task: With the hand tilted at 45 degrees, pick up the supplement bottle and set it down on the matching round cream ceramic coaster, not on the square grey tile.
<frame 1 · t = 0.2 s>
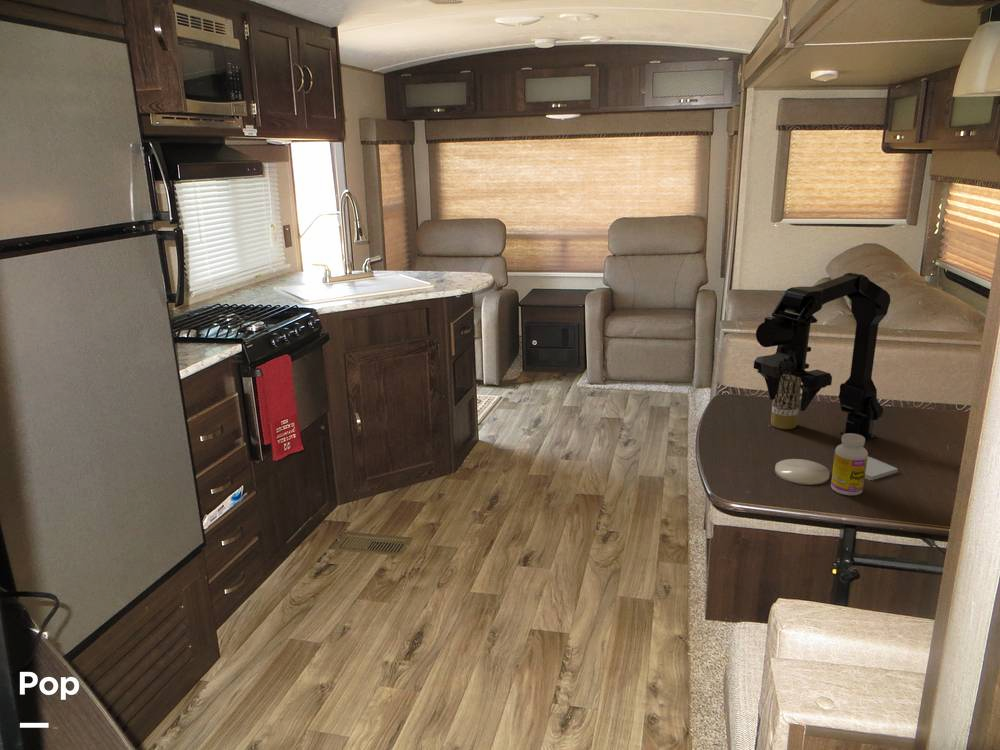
hand: (787, 405, 182), 14 cm above the table, tool pointing down, fingers open, 9 cm apart
round coaster: (801, 473, 179), on the table
square tile: (867, 469, 180), on the table
paper tube: (783, 426, 207), on the table
supplement bottle: (846, 490, 170), on the table
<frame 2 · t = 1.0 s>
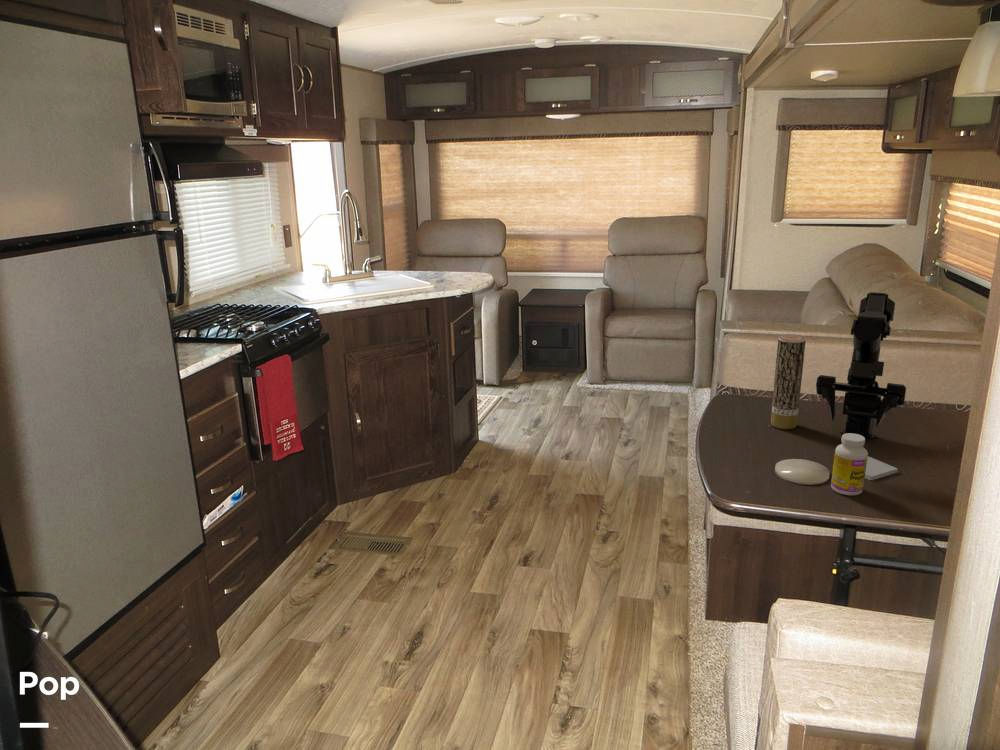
hand: (854, 422, 173), 13 cm above the table, tool tilted 45°, fingers open, 9 cm apart
nothing on the table moved.
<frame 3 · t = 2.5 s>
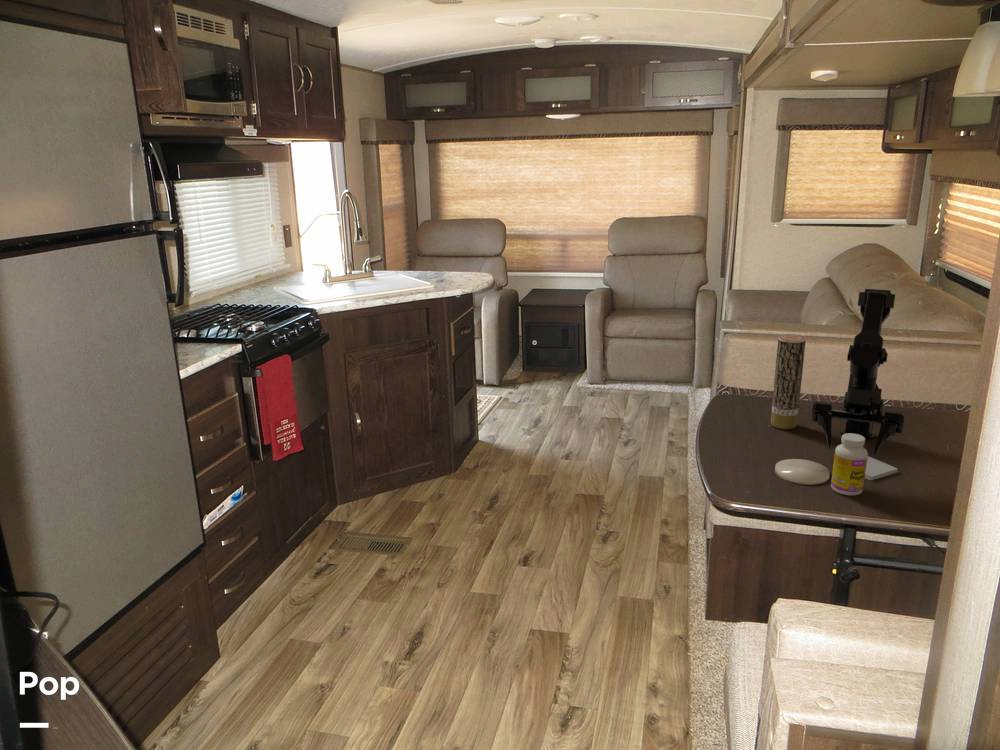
hand: (851, 451, 169), 9 cm above the table, tool tilted 45°, fingers open, 9 cm apart
nothing on the table moved.
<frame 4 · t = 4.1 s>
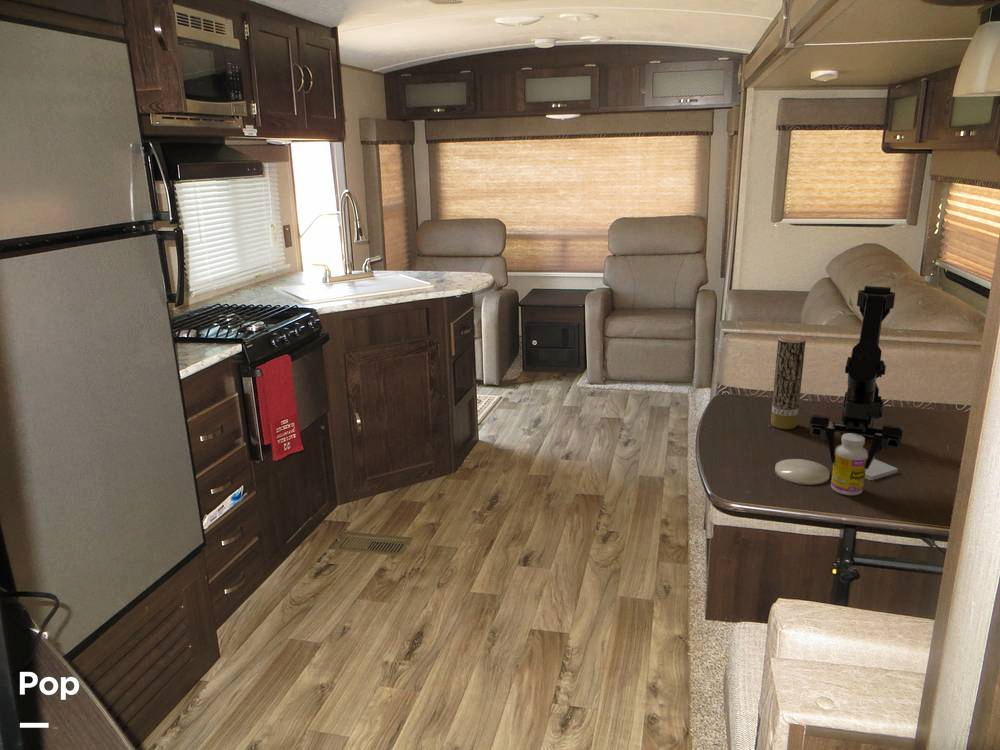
hand: (849, 465, 167), 7 cm above the table, tool tilted 45°, fingers closed on supplement bottle, 7 cm apart
supplement bottle: (846, 490, 170), on the table, touching gripper
everything else where it was.
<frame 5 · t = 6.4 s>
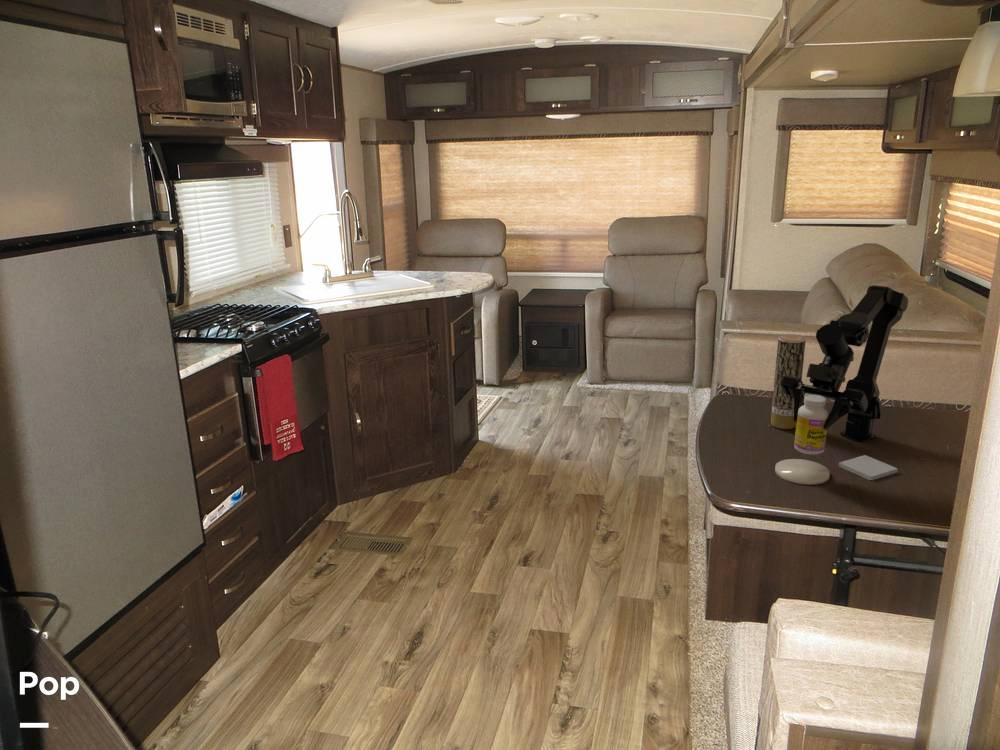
hand: (809, 424, 173), 13 cm above the table, tool tilted 45°, fingers closed on supplement bottle, 7 cm apart
supplement bottle: (809, 450, 176), point 6 cm above the table, touching gripper
everything else where it was.
when the fingers open (9 cm above the table, at t = 8.5 s): supplement bottle drops 1 cm, resting on round coaster.
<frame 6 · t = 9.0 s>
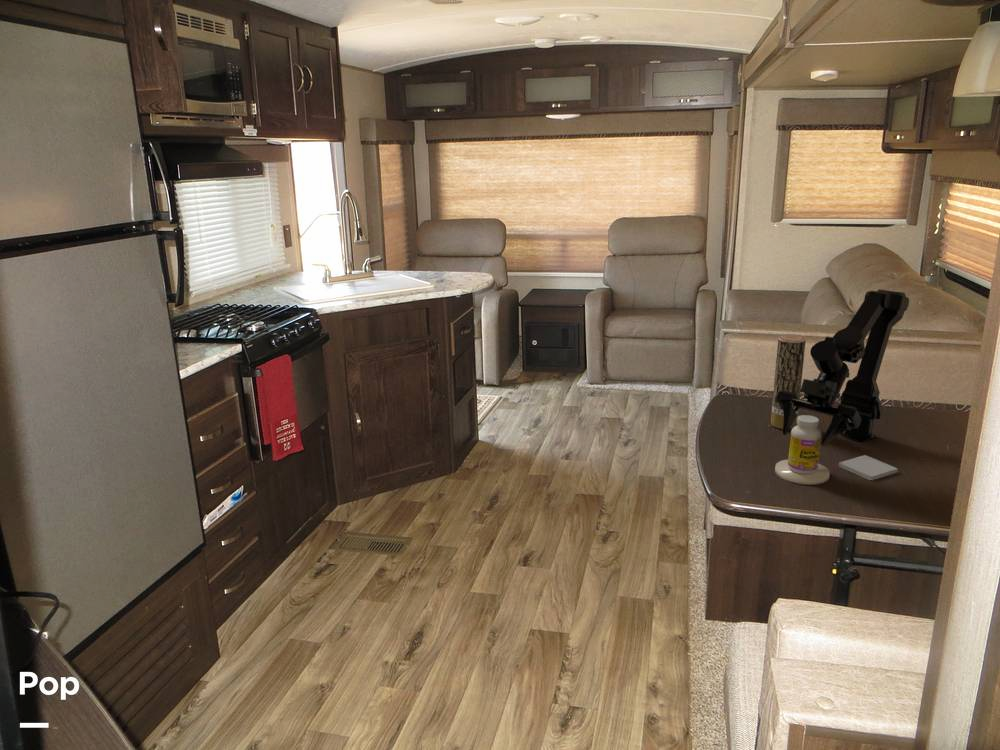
hand: (802, 439, 175), 9 cm above the table, tool tilted 45°, fingers open, 9 cm apart
supplement bottle: (802, 469, 179), point 1 cm above the table, touching round coaster
everything else where it was.
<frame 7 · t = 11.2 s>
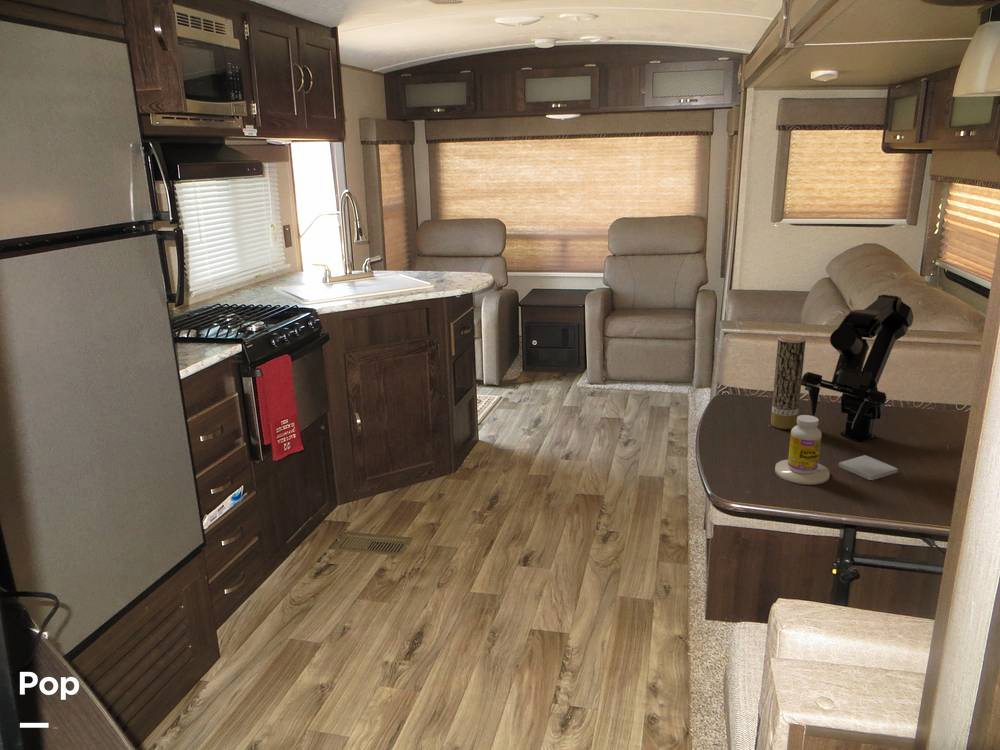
hand: (832, 423, 182), 10 cm above the table, tool tilted 30°, fingers open, 9 cm apart
nothing on the table moved.
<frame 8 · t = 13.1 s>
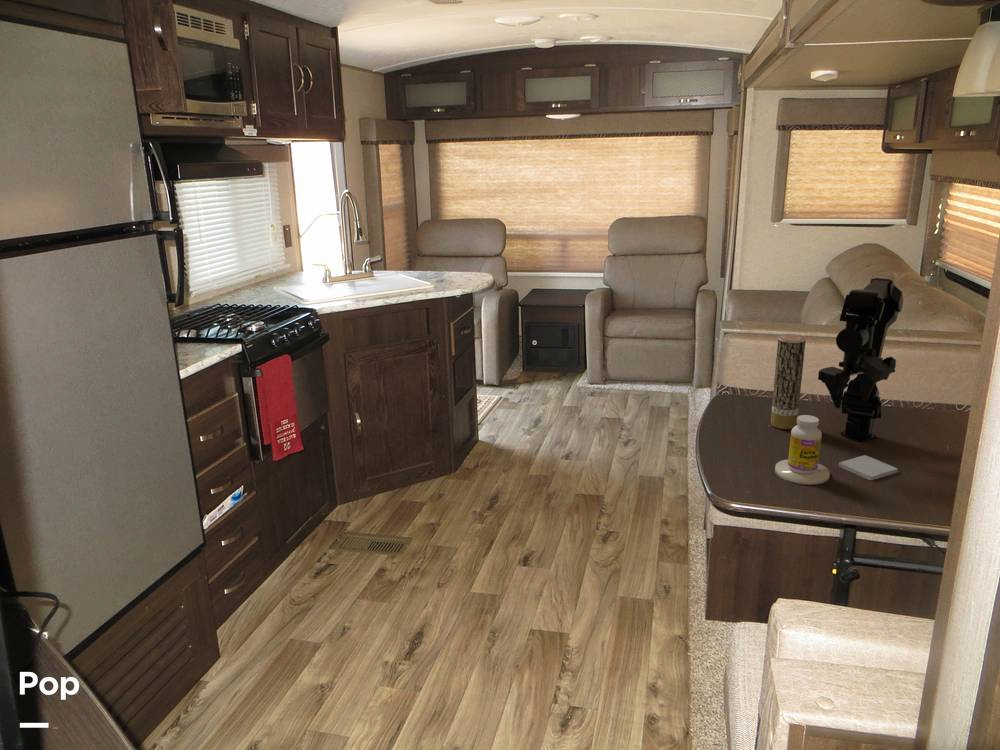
hand: (850, 404, 185), 13 cm above the table, tool pointing down, fingers open, 9 cm apart
nothing on the table moved.
at the end: supplement bottle 0.2 cm off-centre on the round coaster, point 0.8 cm above the round coaster's base; supplement bottle tilted 0°; the gripper is holding nothing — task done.
